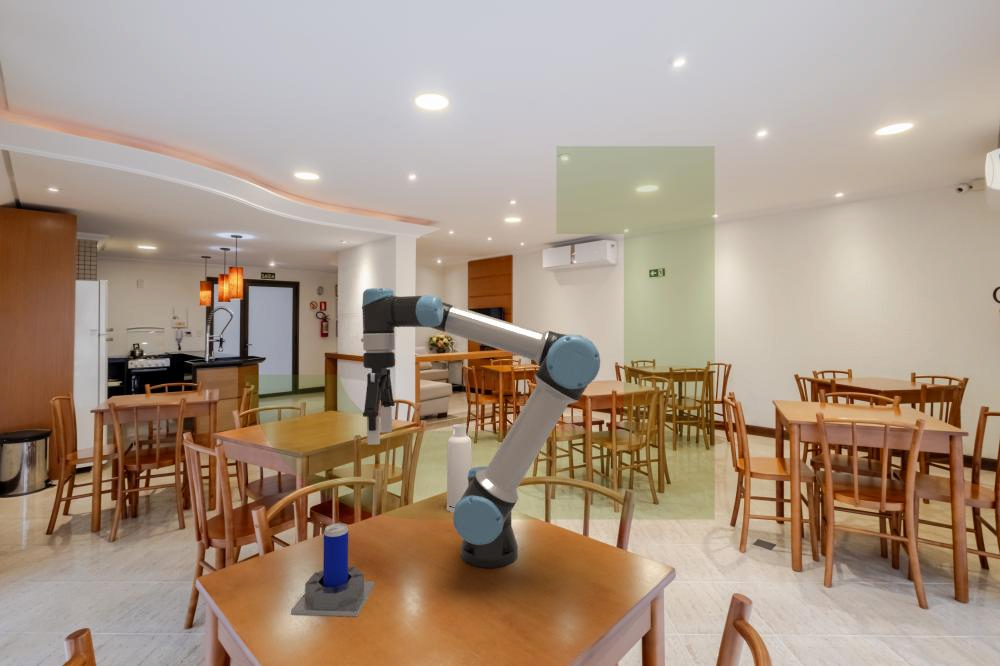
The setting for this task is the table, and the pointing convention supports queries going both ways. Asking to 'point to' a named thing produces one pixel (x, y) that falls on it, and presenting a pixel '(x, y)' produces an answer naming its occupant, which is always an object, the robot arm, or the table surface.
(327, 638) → the table surface
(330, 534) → the beverage can
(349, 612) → the socket
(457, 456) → the bottle
